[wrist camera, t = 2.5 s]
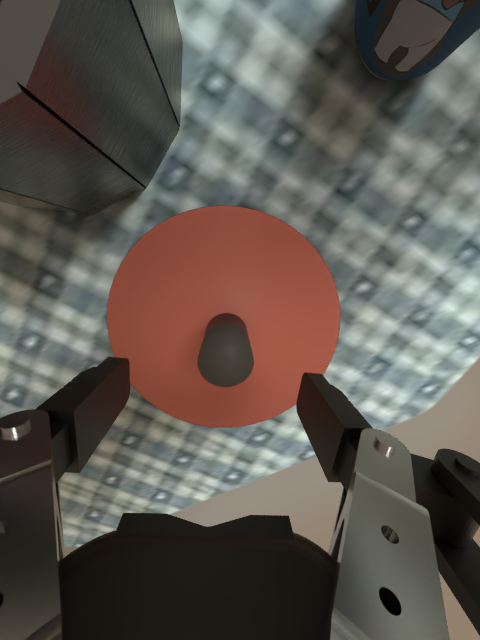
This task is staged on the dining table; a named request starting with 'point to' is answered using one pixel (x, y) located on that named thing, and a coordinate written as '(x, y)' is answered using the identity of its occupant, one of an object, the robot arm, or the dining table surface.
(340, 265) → the dining table surface
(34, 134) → the pot
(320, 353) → the lid
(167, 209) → the dining table surface
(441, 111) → the dining table surface
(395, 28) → the soda can
